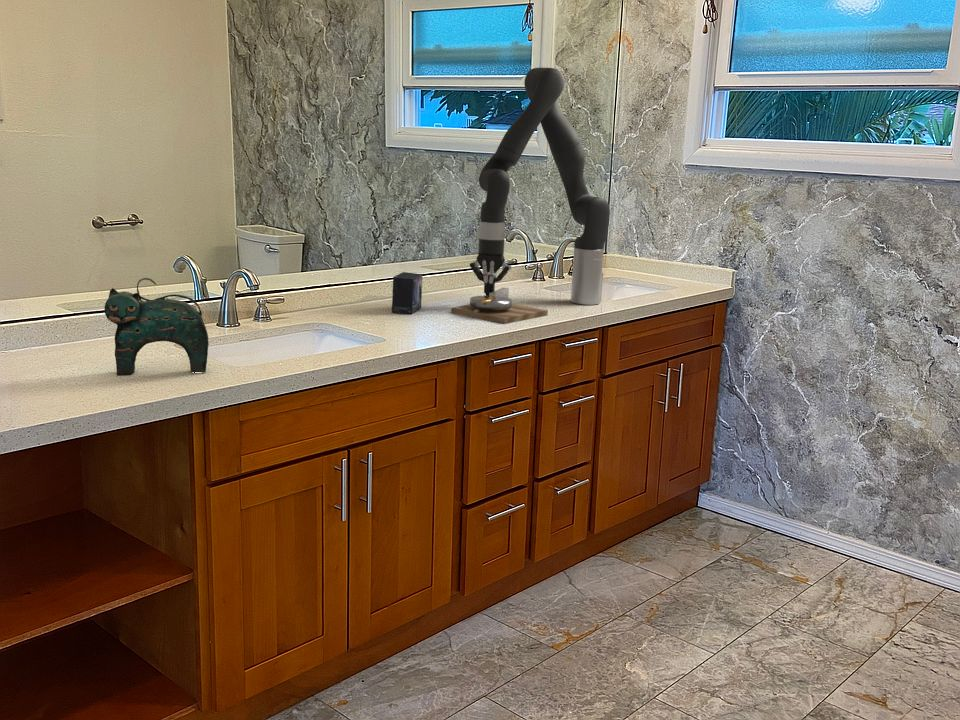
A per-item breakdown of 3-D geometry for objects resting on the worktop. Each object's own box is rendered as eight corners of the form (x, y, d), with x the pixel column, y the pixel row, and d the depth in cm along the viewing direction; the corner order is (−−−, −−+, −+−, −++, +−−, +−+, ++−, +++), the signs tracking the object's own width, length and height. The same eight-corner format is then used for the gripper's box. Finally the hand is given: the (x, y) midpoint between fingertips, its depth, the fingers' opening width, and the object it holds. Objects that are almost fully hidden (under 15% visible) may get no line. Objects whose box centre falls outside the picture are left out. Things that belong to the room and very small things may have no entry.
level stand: (494, 304, 291) (495, 298, 291) (547, 315, 279) (548, 308, 278) (451, 312, 276) (451, 305, 276) (504, 323, 264) (505, 316, 263)
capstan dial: (502, 314, 267) (503, 299, 266) (462, 310, 271) (463, 295, 270) (524, 303, 285) (524, 289, 284) (486, 299, 289) (486, 285, 288)
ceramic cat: (107, 377, 194) (102, 279, 189) (111, 369, 200) (106, 274, 195) (208, 375, 198) (206, 280, 193) (209, 367, 204) (207, 275, 200)
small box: (413, 315, 271) (414, 278, 268) (390, 313, 272) (391, 276, 269) (422, 308, 281) (423, 273, 278) (401, 306, 282) (402, 271, 279)
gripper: (466, 236, 279) (463, 295, 283) (508, 240, 275) (505, 299, 279) (475, 234, 286) (472, 291, 290) (516, 237, 282) (514, 295, 286)
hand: (489, 295), depth 285 cm, fingers closed
